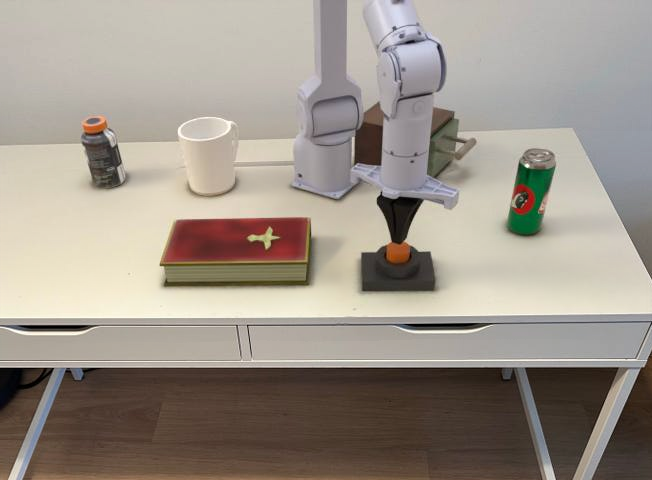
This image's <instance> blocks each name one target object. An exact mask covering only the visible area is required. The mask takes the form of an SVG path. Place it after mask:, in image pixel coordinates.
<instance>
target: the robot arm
mask: <svg viewBox="0 0 652 480" xmlns="http://www.w3.org/2000/svg"><path fill="white" fill-rule="evenodd" d="M312 11H313V12H312V13H313V44H314V45H313V52H314V53H313V55H314V56H313V57H314V58H313V59H314V60H313V61H314V73H313V74H312V75H311V76H309V77H308V78H307V79H306V80H305V81H304V82H303V83H301V85H299V87H298V89H297V101H296V106H295V118H296V124H297V129H298V130H299V133H298V134H297V135H296V137H295V139H294V143H293V149H292V153H293V154H292V155H293V172H294V182H292V183H291V185H292V187H294V188H296V189H300V190H304V191H307V192H310V193H314V194H317V195H320V196H325V197H327V198H331V199H333V200H339V199H341V198H342V197H343V196H344V195H346V193H348V192H349V191H350V190H351V189H352V188H354V186H356V185H357V184H359V183H362V184H365V185H369V186H373V187H375V188H377V189H379V190H380V192H379V195H378V196H377V197H376V199H375V200H376V202H375V203H376V205H377V206H378V208H379V209H380V211H381V213H382V215H383V217H384V220H385V222H386V224H387V228H388V232H389V237H390V242H392V243H396V244H399V245H401V244H402V243H403V242H406V240H407V239H408V235H409V234H408V233H409V231H410V228H411V226H412V223H413V221H414V218H415V216H416V214H417V213H418V211H419V210H420V208H421V206H422V205H423V203H424V201H428V202H431V203H435V204H438V205H441V206H443V208H444V209H445V210H449V211H452V210H453V209H454V208H455V207H456V206H457V205H458V204H459V197H460V189H459V188H456V187H452V186H450V185H449V184H446V183H444V182H442V181H440V180H438V179H436V178H435V177H433V178H432V177H430V176H429V175H427V165H428V155H429V145H430V134H431V124H432V114H433V107H434V104H435V103H434V102H435V101H434V100H435V93H439V92H441V91H442V90H443V88H444V86H445V84H446V81H447V74H448V64H447V63H448V62H447V56H446V52H445V49H444V45H443V44H442V42H441V40H440V39H439V38H438V37H435V36H434V35H433V34H432V32H431V31H430V30H425V29H424V26H423V24H422V21H421V19H420V17H419V14H418V11H417V9H416V6H415V4H414V1H413V0H365V2H364V3H363V5H362V10H361V11H362V17H363V20H364V23H365V25H366V28H367V31H368V34H369V36H370V39H371V40H372V41H371V42H372V44H373V47H374V50H375V53H376V55H377V58H378V60H377V64H376V79H377V85H378V90H379V101H380V107H381V110H382V111H383V112H384V120H383V142H382V164H381V166H373V165H364V164H359V163H358V164H356V165H355V166H354V165H353V163H352V158H353V157H352V156H353V151H352V150H353V149H352V148H353V138H355V133H356V130H358V129H359V128H360V127H361V125H362V123H363V118H364V112H365V111H364V104H363V99H362V98H363V97H362V88H361V86H360V84H359V83H358V81H357V80H356V79H355V78H354V77H352V76H351V75H350V74H348V73H347V63H348V62H347V61H348V59H347V57H348V56H347V54H348V53H347V50H348V45H347V44H348V0H312ZM352 165H353V167H352Z"/></svg>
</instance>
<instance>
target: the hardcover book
mask: <svg viewBox="0 0 652 480" xmlns="http://www.w3.org/2000/svg"><path fill="white" fill-rule="evenodd" d="M168 234H169V235H168V237H167V240H166V243H165V246H164V250H163V252H162V256H161V258H160V261H159V267H163V269H164V274H165V280H164V283H163V284H164V287H201V286H202V287H205V286H207V287H208V286H212V287H215V286H221V287H222V286H303V285H304V286H306V285H308V286H309V284H310V270H311V268H310V267H311V256H312V255H311V253H312V217H311V216H304V217H303V216H292V217H289V216H288V217H243V218H242V217H239V218H238V217H237V218H234V217H233V218H188V219H187V218H185V219H183V218H182V219H173V222H172V226H171V227H170V232H169V233H168Z"/></svg>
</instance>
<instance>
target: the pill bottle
mask: <svg viewBox="0 0 652 480" xmlns="http://www.w3.org/2000/svg"><path fill="white" fill-rule="evenodd" d="M107 123H108V122H107V120H106V118H105V117H103V116H101V115H100V116H98V115H97V116H96V115H95V116H89V117H87V118H85V119H84V120H83V121H82V122H81V124H82V128H83V131H84V132H83V133H82V134H81V137H80V141H81V146H82V149H83V152H84V156H85V159H86V163H87V165H88V169H89V173H90V177H91V180H92V183H93V184H94V186H96V187H98V188H101V189H108V188H109V189H110V188H113V187H117V186H120V185H121V184H122V183H124V182H125V180H126V176H127V175H126V171H125V167H124V164H123V163H124V162H123V160H122V157H121V153H120V148H119V144H118V140H117V136H116V133H115V131H114V130H113V129H111V128H110V127H108V124H107Z"/></svg>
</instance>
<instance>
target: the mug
mask: <svg viewBox="0 0 652 480" xmlns="http://www.w3.org/2000/svg"><path fill="white" fill-rule="evenodd" d="M232 132H233V133H232ZM177 137H178V141H179V145H180V149H181V155H182V157H183V163H184V167H185V171H186V175H187V179H188V185H189V188H190V190H191V191H192V192H193V193H195V194H196V195H199V196H203V197H214V196H220V195H223V194H226V193H227V192H229V191H231V189H233V188H234V186H235V184H236V173H235V162H236V159H237V153H238V150H239V149H238V148H239V141H240V131H239V127H238V125H237V123H236V122H234V121H232V120H227V119H224V118H221V117H217V116H206V117H204V116H203V117H197V118H194V119H190V120H188V121H185V122H184V123H183V124H181V125H180V126H179V127H178V129H177Z"/></svg>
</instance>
